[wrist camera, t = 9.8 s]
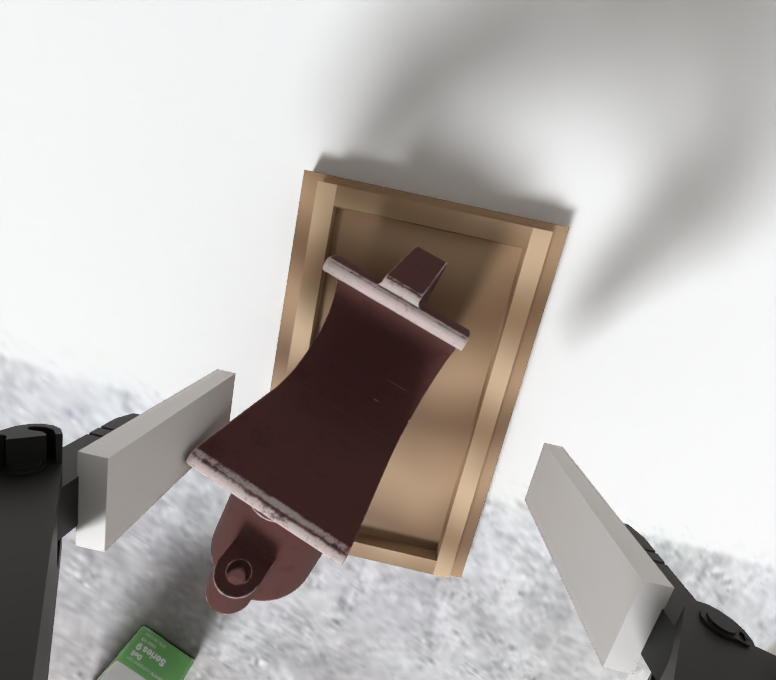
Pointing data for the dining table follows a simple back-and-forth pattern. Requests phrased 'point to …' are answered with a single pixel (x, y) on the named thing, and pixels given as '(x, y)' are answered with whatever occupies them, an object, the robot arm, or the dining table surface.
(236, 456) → the bracket
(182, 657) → the ink box
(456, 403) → the side panel
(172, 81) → the dining table surface
